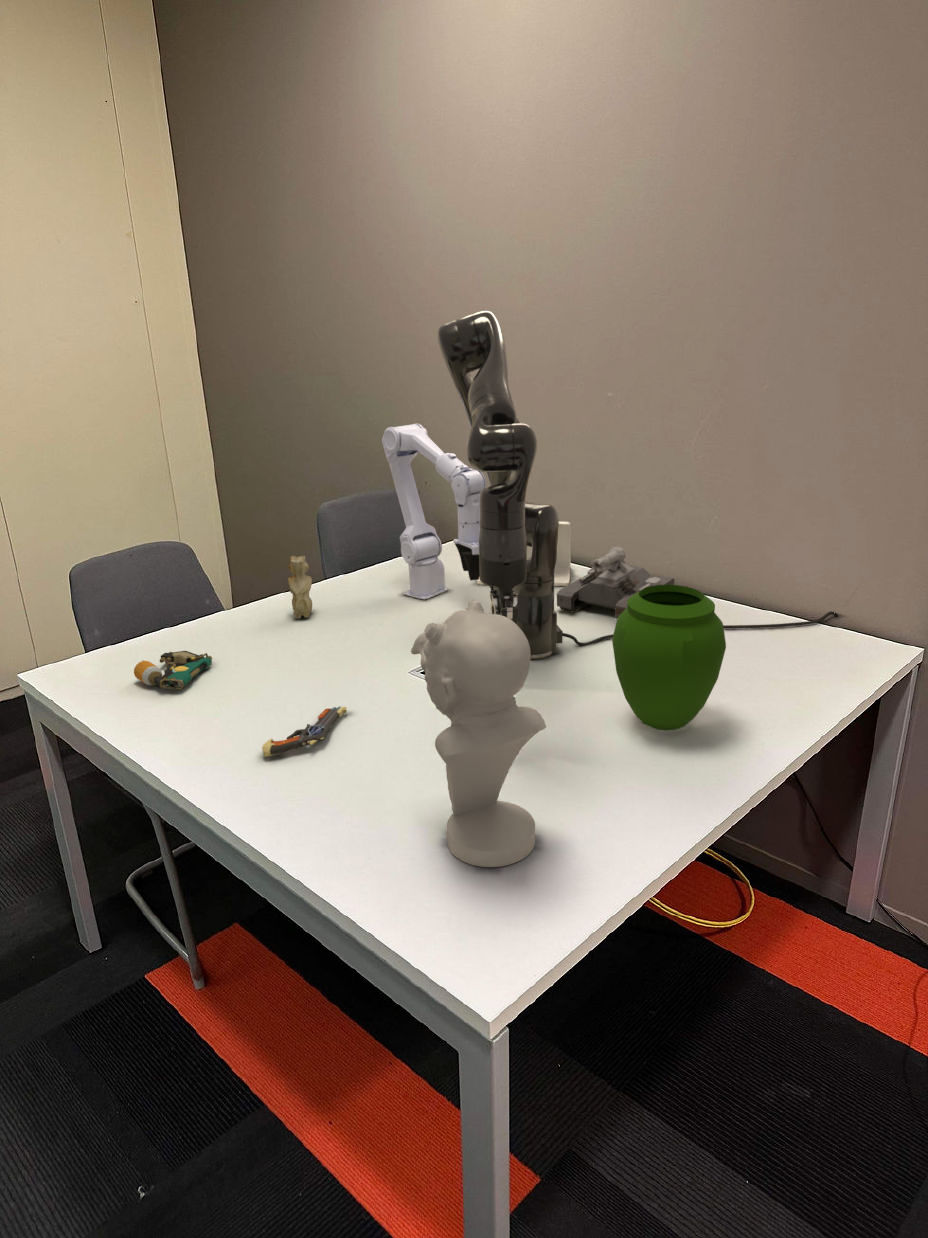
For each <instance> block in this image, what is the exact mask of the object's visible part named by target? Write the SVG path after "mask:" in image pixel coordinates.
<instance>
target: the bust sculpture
mask: <svg viewBox="0 0 928 1238" xmlns="http://www.w3.org/2000/svg"><path fill="white" fill-rule="evenodd" d="M530 653H531V652H530V646H529V643H528V640H527V638H526V636H525V634H524V633H523V632H522V630H521V629H520V628H519V627H518V626H517V625H516V624H515V623H514V622H513V621H512V620H511V619H509V618H507V617H505V616H502V615H497V614H491V613H485V609H484V607H483V605H482V603H481V602H480V601H478V600H473V599H472V600H470V601H469V603H468V605H467V607H466V609H460V610H457V611H455V612H453V613H451V615H449V616H448V617H447V618H446V619H445V620H444V622H442V624H441V623H435V622H430V623H428V624H427V625H426V626H425V628H424V632H423V633H421V634H419V635H418V636H417V637H416V638H415V640H414V642H413V645H412V647H411V649H410V654H412V655H420V667H421V669H422V670H423V672H424V681H425V682H426V690H427V693H428V696H429V698H430V701H431V702H432V704H434V706H435V708H436V710H438V711H439V712H440V713H441V714H442V716H446V717H447V718H448V719H449V720H450V726H448V727H446V728H445V729H443V730H442V731H441V732H440V733H439V734H438V735H436V738H435V741H434V748H435V749H436V752H437V753H438V755H439V757H440V758H441V760H442V761H443V762H444V763H445V771H446V781H447V790H448V796H449V800H450V803H451V810H452V813H451V814H450V815H449V817H448V819H447V822H446V844H447V847H448V849H449V851H450V852H451V854H452V855H453V856H454V857H456V858H457V859H459V860H460V861H462V862H463V863H466V864H469V865H471V866H476V867H483V868H498V867H505V866H509V865H512V864H517V862H520V861H521V860H523V859H525V858H527V856H528V855H530V854H531V852H532V851H533V849H535V848H534V847H535V845H536V822H535V821H536V820H535V819H534V817H533V816H532V814H531V813H530V812H529V811H528V810H526V809H525V808H524V807H522V806H520V805H517V804H515V803H513V802H509V801H504V800H499V796H500V793H501V790H502V788H503V785H504V783H505V780H506V778H507V776H508V773H509V771H510V769H511V768H512V765H513V763H514V761H515V760H516V759H517V756H518V755H519V753H520V752H521V750H522V749H523V748H524V747H525V745H526V744H527V743H528V742H529V741H530V740H531V739H532V738H533V737H535V735H537V734H538V733H539V732H541V731H544V730H545V729H546V728H547V725H546V723H545V720H544V718H543V717H542V714H541V713H540V712H539V711H538V710H537V709H535V708H533V707H530V706H518V705H517V701H516V699H517V698H516V696H515V695H516V694H517V693H519V691H521V689H522V688H523V686H524V684H525V683H526V680H527V678H528V675H529V669H530V666H531V659H530V656H531V655H530Z"/></svg>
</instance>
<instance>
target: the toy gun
mask: <svg viewBox="0 0 928 1238" xmlns="http://www.w3.org/2000/svg"><path fill="white" fill-rule="evenodd" d="M347 708H348V707H347V706H340V705H339V706H337V707H336V706H333V707H332V708H325V709H324V710H323V711H322V712H321V713H320V714H319V715H318V716H317V721H316V722H315V723H314V724H309V723H307V724H306V727H305V728H302V729H295V730H294V732H293V733H291V734H290V735H288V736H287V737H286V739H283V740H274V739H273V738H269V740H266V742H264V743H263V745H262V747H261V748H262V749H261V750H262V754H263V756H264V757H267V758H268V757H272V756H275V755H276V756H277V755H280V754H283V753H287V752H290V751H293V750H298V749H300V748H303V747H306V746H309V745H310V746H313V745H314V744H316V743H318V742H319V741H321V740H324V738H325V737H327V735H328V733H329V732H330V731H331V729H332V727H333V725H334V724H335V723H336V722H337V721H338V720H339V718H341V717H342V715H344V714H347V712H348V709H347Z"/></svg>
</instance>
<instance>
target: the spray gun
mask: <svg viewBox="0 0 928 1238" xmlns="http://www.w3.org/2000/svg"><path fill="white" fill-rule="evenodd" d="M212 660H213V657H212V656H211V655H208V653H207V652H205V653H201V654H197V653H194V652H192V651H191V652H190V651H188V650H180V651H169V652H164V653H162V654H161V655H160V658H159V660H158V662H159V663H161V664H163V663H165V664H166V668H165V670H163V672H164V674H163V673H162V669H160V668H159V666H157V665H156V664H154V663H152V662H151V661H149V660H141V661H139V662H138V663H136V665H135V666H134V668H133V675H134V677H135V678H136V679H137V680H139V681H140V682H142V683H143V684H145V685H147V686H155V685H157V686H158V687H160V688H161V689H171V690H172V689H173V690H182V689H184V687H185V686H186V685H188V684H189V683H190V682H191V681H192V679H193V678H195V677H196V676H197V675H198V674H200V673H201V672H202V671H203V670H206V669H208V668H209V667H210V666H211V665H212V662H213V661H212ZM178 663H179V664H181V665H179V666H176V665H177V664H178Z"/></svg>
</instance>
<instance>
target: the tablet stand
mask: <svg viewBox="0 0 928 1238" xmlns="http://www.w3.org/2000/svg"><path fill="white" fill-rule="evenodd" d="M531 556H532V547H528V546H527V558H530V557H531ZM571 560H572V558H571V522H569V521H559V532H558V546H557V561H556V566H555V571H554V587H556V586H557V587H566V586H567V585H569V584H570V580H571V579H570V578H571V565H572V564H571ZM476 581H477V582H476V584H478V585H484V586H486V585H485V584H483V583H482V582H481V581H480V577H479V580H476Z"/></svg>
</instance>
